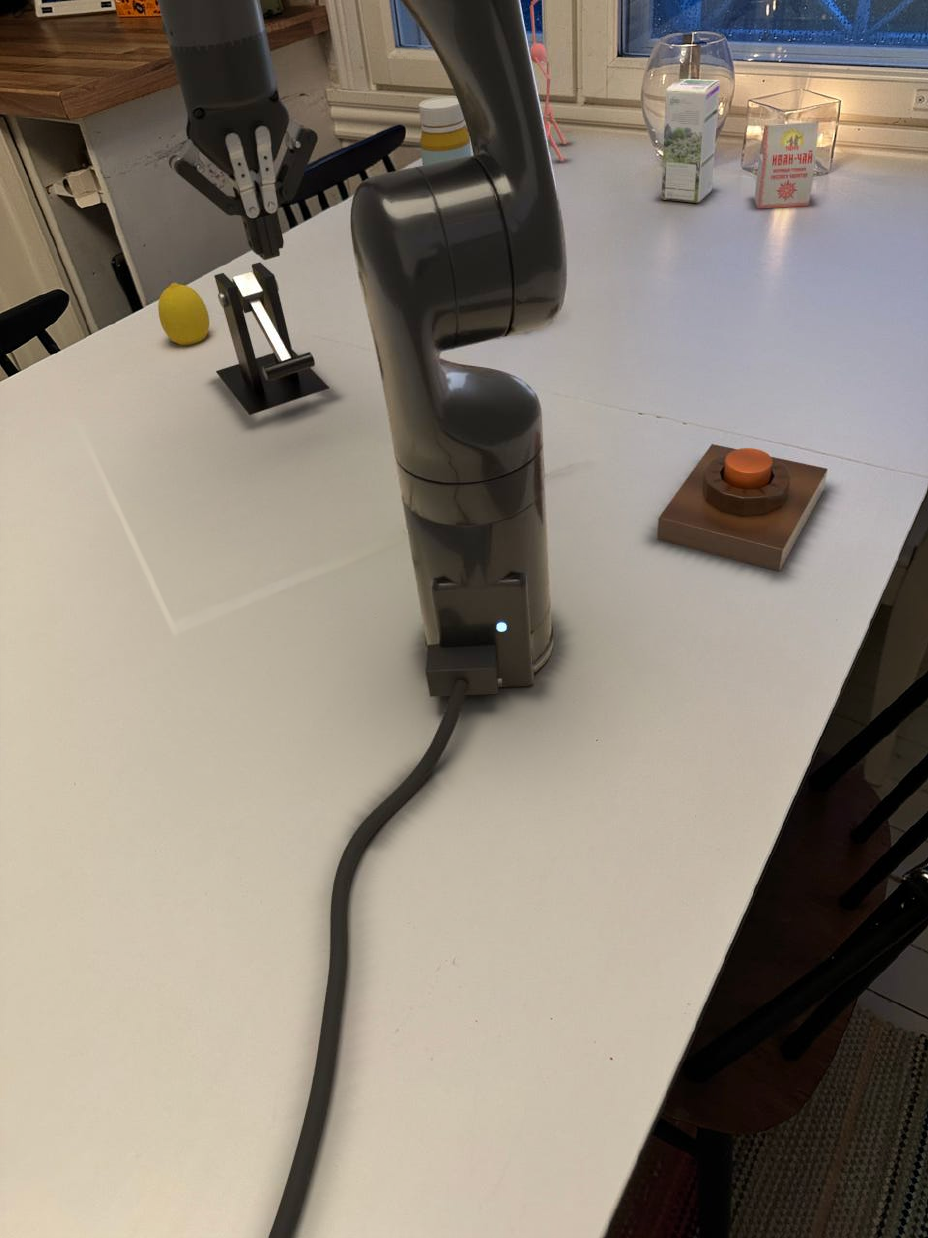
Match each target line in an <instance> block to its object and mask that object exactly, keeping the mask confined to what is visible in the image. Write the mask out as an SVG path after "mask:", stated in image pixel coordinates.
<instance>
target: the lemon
mask: <svg viewBox="0 0 928 1238" xmlns="http://www.w3.org/2000/svg"><path fill="white" fill-rule="evenodd" d="M157 303H158V304H157V305H158V308H157V309H158V317H159V321H160V325H161V328H162V329H163V331H164V332H165V334H166V335H167V337H168V338H169V339H170V340H171V341H172V342H174V343H176V344H178V345H180V346H191V345H196V344H198V343H200V342H202V341H204V340H205V338H206V337H207V335H208V333H209V331H210V330H209V329H210V316H209V312H208V309H207V307H206V304H205V302H204V300H203V298H202V297H201V296H200V294H199V293H198V292H197V291H196V290H195V289H193V288H192V287H191V286H189V285H185V284H179V283H177V282H172V283H171V284H170V285H169V286H168V287H167V288H165V289H164V290H163V291H162V292H161V295H160V296H159V299H158V302H157Z"/></svg>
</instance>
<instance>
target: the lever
mask: <svg viewBox="0 0 928 1238" xmlns="http://www.w3.org/2000/svg"><path fill="white" fill-rule="evenodd" d="M231 279H232V280H231V281H232V282H233V283H234V284H235V285H236V286H237V290H238V293H239V297H240V301H241V305H242V308H243V312H244V314H248V313H250V312H251V313H252V315H253V316H254V319H255V321H256V322H257V324H258V326H259V328H260V330H261V332H262V333H263V336H264V337H265V339H266V341H267V342H268V345H269V346H270V349H271V350H272V353H273V352H274V354H275V356H276V357H277V359H278V361H279V362H277V363H273V364H270V365H267V366H264V367H263V368H262V370H263V374H264V376H265V378H266V380H267V381H271V380H274V379H277V378H280V377H283V376H286V375H289V374H292V373H295V372H298V371H301V370H305V369H308V368H311V369H312V368H313V367H315V366H316V362H315V358H314V356H313V354H312V352H311V351H307V352H304V353H301V354H299V355H298V354H297V355H298V356H295V357H292V358H291V356H290V354H289V352H288V351H287V349H286V347H285V345H284V343H283V341H282V340H281V338H280V336H279V334H278V332H277V330H276V329H275V327H274V325H273V323H272V321H271V319H270V318H269V316H268V314H267V312H266V310H265V308H264V307H265V306H264V294H263V290H262V288H261V286H260V284H259V282H258V281H257V279H256V277H255V275H254V273H253V270H252V271H248V272H244V273H242V274H238V275H235V276H232V277H231Z"/></svg>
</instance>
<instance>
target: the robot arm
mask: <svg viewBox="0 0 928 1238" xmlns="http://www.w3.org/2000/svg"><path fill="white" fill-rule="evenodd" d="M399 2H400V3H401V4H402V5H403V7H404V8H405V9H406V11H407V12H408V14H410V17H412V19H413V21H415V23H416V24H417V25H418V27H419V29H420V30H421V32H422V33H423V35H424V37H425V38H426V40H427V41H428V43H429V44H430V46H431V48H432V49H433V51H434V52H435V54H436V56H437V58H438V60H439V62H440V63H441V65H442V67H443V69H444V71H445V73H446V75H447V78H448V80H449V82H450V84H451V86H452V89H453V91H454V94H455V97H457V99H458V102H459V105H460V107H461V110H462V113H463V116H464V119H465V127H466V129H467V131H468V134H469V140H470V146H471V151H472V153H473V154H472V155H471V156H470V157H464V158H459V159H454V160H448V161H443V162H438V163H433V164H428V165H423V164H422V165H419V166H413V167H409V168H404V169H400V170H393V171H390V172H384V173H381V174H377V175H373V176H371V177H368V178H366V179H365V180H363V181H361V182H360V184H359V185H358V186H357V187H356V189H355V192H354V194H353V196H352V201H351V207H350V218H349V219H350V220H349V221H350V234H351V243H352V253H353V256H354V261H355V262H354V263H355V266H356V271H357V276H358V281H359V286H360V290H361V294H362V297H363V302H364V306H365V311H366V314H367V315H366V316H367V318H368V323H369V327H370V332H371V335H372V340H373V344H374V345H373V346H374V349H375V354H376V358H377V363H378V368H379V374H380V379H381V384H382V390H383V395H384V396H383V397H384V402H385V407H386V412H387V418H388V422H389V423H388V425H389V428H390V429H389V430H390V435H391V440H392V441H391V442H392V448H393V455H394V459H395V465H396V471H397V477H398V482H399V489H400V495H401V502H402V507H403V512H404V520H405V525H406V530H407V531H406V532H407V536H408V543H409V548H410V554H411V555H410V556H411V560H412V565H413V572H414V578H415V584H416V589H417V595H418V600H419V606H420V607H419V608H420V613H421V617H422V623H423V629H424V635H425V636H424V637H425V638H424V639H425V640H424V642H425V643H424V644H425V649H426V661H425V676H426V682H427V687H428V694H429V697H430V698H435V697H448V700H447V704H446V706H445V710H444V713H443V715H442V718H441V721H440V722H439V725H438V727H437V729H436V731H435V734H434V736H433V738H432V741H431V742H430V743H429V746H428V748H427V750H426V751H425V753H424V755H423V756H422V757H421V759H420V761H419V762H418V763H417V765H416V766H415V768H414V769H413V770H412V771H411V773H410V774H409V775H408V776H407V778H405V780H404V781H402V783H401V784H400V785H399V786H398V787H397V788H396V789H395V790H394V791H393V792H391V794H389V795H388V796H387V797H386V798H385V799H384V800H383V801H382V802H381V803H380V804H379V805H378V806H376V808H374V810H373V811H371V812H370V814H369V815H367V816H366V818H365V819H364V820H363V821H362V822H361V824H360V825H359V826H358V827H357V829H356V830H355V831H354V833H353V834H352V836H351V838H350V839H349V841H348V842H347V844H346V846H345V849H344V850H343V852H342V855H341V857H340V860H339V862H338V865H337V869H336V871H335V876H334V880H333V885H332V892H331V897H330V898H331V899H330V916H329V917H330V919H329V920H330V921H329V922H330V923H329V929H330V930H329V932H330V933H329V964H328V966H329V967H328V974H327V983H326V989H325V994H324V1002H323V1010H322V1017H321V1023H320V1024H321V1025H320V1031H319V1038H318V1046H317V1051H316V1052H317V1053H316V1059H315V1065H314V1071H313V1077H312V1082H311V1087H310V1090H309V1091H310V1092H309V1096H308V1101H307V1105H306V1109H305V1113H304V1117H303V1122H302V1125H301V1130H300V1134H299V1137H298V1140H297V1144H296V1148H295V1152H294V1155H293V1159H292V1164H291V1165H290V1170H289V1173H288V1177H287V1180H286V1182H285V1183H286V1184H285V1186H284V1190H283V1193H282V1196H281V1199H280V1203H279V1206H278V1209H277V1212H276V1215H275V1217H274V1221H273V1223H272V1225H271V1228H270V1231H269V1234H268V1237H267V1238H291V1237H292V1234H293V1232H294V1228H295V1226H296V1223H297V1219H298V1216H299V1214H300V1210H301V1207H302V1203H303V1200H304V1197H305V1193H306V1190H307V1186H308V1183H309V1179H310V1175H311V1172H312V1168H313V1164H314V1160H315V1156H316V1153H317V1149H318V1146H319V1145H318V1144H319V1141H320V1136H321V1133H322V1130H323V1129H322V1128H323V1124H324V1120H325V1115H326V1111H327V1106H328V1102H329V1097H330V1092H331V1086H332V1080H333V1076H334V1075H333V1074H334V1068H335V1060H336V1055H337V1049H338V1038H339V1033H340V1024H341V1023H340V1022H341V1015H342V1008H343V998H344V991H345V983H346V976H347V964H348V901H349V900H348V899H349V898H348V897H349V892H350V885H351V880H352V877H353V872H354V870H355V868H356V865H357V863H358V860H359V858H360V856H361V854H362V852H363V850H364V848H365V847H366V845H367V843H368V842H369V841H370V839H371V838H372V837H373V835H374V834H375V833H376V832H377V831H378V829H379V828H380V827H381V826H382V825H383V824H384V823H385V822H386V821H387V820H388V819H389V818H390V817H391V816H392V815H393V814H394V813H395V812H396V811H398V809H399V808H401V806H403V805H404V804H405V803H406V802H407V801H408V800H409V799H410V798H411V797H412V795H414V793H415V792H416V791H417V790H418V789H419V788H420V787H421V786H422V785H423V783H424V782H425V781H426V779H427V778H428V776H429V775H430V774H431V772H432V771H433V770H434V768H435V766H436V765H437V764H438V762H439V760H440V759H441V757H442V755H443V754H444V751H445V750H446V748H447V745H448V744H449V742H450V739H451V737H452V735H453V732H454V730H455V727H456V725H457V722H458V720H459V716H460V714H461V711H462V707H463V704H464V700H465V698H466V696H474V695H477V696H478V695H497V694H498V692H499V688H507V687H508V688H509V687H529V686H532V685H533V684H534V676H535V673H536V672H538V671H539V670H540V669H541V668H542V667H543V666H544V665H545V664H546V662H547V661H548V659H550V656H551V654H552V651H553V648H554V626H553V623H552V609H551V608H552V607H551V590H550V586H551V585H550V570H549V569H550V568H549V565H550V563H549V546H548V544H549V543H548V521H547V502H546V501H547V499H546V497H547V496H546V472H545V471H546V469H545V449H544V428H543V427H544V426H543V425H544V424H543V411H542V406H541V403H540V399H539V397H538V394H537V393H536V392H535V390H534V389H533V388H532V387H531V386H530V385H529V384H528V383H527V382H526V381H524V380H523V379H521V378H519V377H518V376H515V375H513V374H511V373H508V372H506V371H503V370H498V369H495V368H491V367H483V366H477V365H469V364H463V363H457V362H453V361H450V360H446V359H443V358H441V353H443V352H446V351H451V350H456V349H459V348H464V347H469V346H472V345H477V344H481V343H486V342H490V341H494V340H498V339H499V340H500V339H502V338H505V337H508V336H510V337H511V336H515V335H519V334H523V333H527V332H530V331H535V330H537V329H541V328H543V327H546V326H548V325H549V324H551V323H553V321H554V320H555V319H557V317H558V315H559V314H560V312H561V310H562V308H563V306H564V303H565V298H566V292H567V291H566V290H567V284H568V283H567V281H568V276H567V275H568V273H567V272H568V261H567V247H566V235H565V230H564V220H563V215H562V209H561V204H560V203H561V202H560V198H559V192H558V187H557V181H556V175H555V170H554V166H553V160H552V155H551V153H550V152H551V150H550V146H549V141H548V140H547V136H546V131H545V126H544V121H543V119H544V116H543V112H542V111H543V110H542V105H541V101H540V96H539V91H538V86H537V81H536V76H535V71H534V65H533V61H532V60H531V56H530V51H529V50H530V46H529V42H528V37H527V36H528V35H527V31H526V26H525V21H524V15H523V9H522V3H521V0H399ZM157 3H158V4H157V5H158V8H159V12H160V16H161V25H162V29H163V33H164V36H165V37H166V39H167V42H168V46H169V50H170V53H171V57H172V61H173V65H174V69H175V72H176V75H177V79H178V83H179V87H180V92H181V93H182V94H181V95H182V97H183V98H182V99H183V101H184V106H185V110H186V114H187V122H186V126H185V132H186V137H187V139H188V140H187V141H186V142H185V144H184V145H183V147H182V149H181V150H180V151H179V153H178V154H173V155H171V156H170V157H169V159H168V165H169V167H170V169H172V171H173V172H175V173H176V174H178V175H179V176H180V177H181V178H182V179H183V180H185V182H187V183H188V184H189V185H191V186H192V187H193V188H194V189H196V190H197V192H199V193H200V194H201V195H203V196H204V197H205V198H206V199H208V200H209V201H210V202H211V203H212V204H214V205H215V206H216V207H217V208H218V209H220V210H221V211H222V212H223V213H225V214H226V215H228V216H229V217H231V216H240V217H241V219H242V225H243V228H244V232H245V236H246V239H247V244H248V247H249V249H251V252H253V253H254V254H255V255H257V256H259V257H260V258H261V259H262V260H263V261H266V260H271V259H274V258H278V257H280V256H281V251H280V250H281V249H283V248H284V243H285V241H284V237H283V236H284V235H283V232H282V231H283V230H282V228H281V223H280V219H279V214H278V213H279V212H278V211H279V207H281V205H283V204H284V203H285V202H286V201H288V202H289V201H292V200H294V198H295V197H296V194H297V192H298V190H299V187H300V185H301V182H302V181H303V177H304V175H305V172H306V170H307V168H308V165H309V163H310V160H311V157H312V155H313V153H314V150H315V148H316V146H317V143H318V139H319V137H318V133H317V132H316V131H315V130H313V129H311V128H310V127H309V126H306V125H304V124H303V125H302V124H299V123H298V122H296V121H294V120H293V119H291V118H290V114H289V110H288V109H287V107H286V106H285V104H284V103H283V101H282V100H281V97H280V94H279V88H278V83H277V78H276V73H275V68H274V63H273V59H272V53H271V49H270V44H269V38H268V35H267V29H266V24H265V20H264V15H263V11H262V6H261V1H260V0H157ZM283 141H284V145H285V147H287V148H286V150H285V153H284V155H283V158H282V161H281V163H280V166H279V168H278V171H277V173H275V165H274V163H275V161H276V160H277V158H278V155H279V152H280V149H281V146H282V143H283ZM200 153H201V154H202V155H203V156H204V157H206V159H208V161H210V162H211V163H212V164H213V165H214V166H215V167H216V168H217V169H218V170H220V171H221V172H223V173H224V174H225V176H226V180H227V182H228V184H229V186H230V189H231V191H232V194H233V195H227V193H225V192H224V191H222V190H221V189H220V188H219V187H218V186H217V185H215V184H214V183H213V182H212V181H211V180H210V179H208V178H207V177H206V176H205V175H204V174H203V173H204V172H205V168H206V167H205V163H204V162H203V161H202V160H201V157H200Z"/></svg>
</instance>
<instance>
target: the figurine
mask: <svg viewBox="0 0 928 1238" xmlns="http://www.w3.org/2000/svg"><path fill="white" fill-rule="evenodd" d="M538 1H539V0H532V1H531V2H530V5H529V13H530V15H529V16H530V24H531V33H532V34H531V35H532V45H531V47H529V51H530V56H531V61H532V63H535V64H537V65H538V67H539V68H540V70H541V72H542V73H543V75H544V76H545V78H546V96H545V105H544V114H543V115H544V116H543V121H544V126H545V131H546V136H547V141H548V140H549V142H550V144H551V146H552V148H553V149H554V152H555V153H556V156H557V157H558V160H559V162H560V163H562V162H563V161H564V157H563V156H562V154H561V151H560V150H559V148H558V146H557V144H556V142H555V140H554V137H553V136H552V134H551V132H550V131H551V123H552V125H553V127H554V129H555V132H556V133H557V135H558V137H559V139H560V141H561V143H562V145H563V146H565V145H566V144H567V141H566V139H565V138H564V136H563V134H562V133H573V131H571V130H570V131H569V130H567V131H563V130H562V131H561V130H560V127H559V126H558V124H557V121H556V120H555V118H554V116H553V113H552V109H553V108H554V106H553V105H551V106H550V107H549V101H550V100H549V99H550V98H549V97H550V90H551V78H550V61H548V60H547V59H546V57H547V49H546V47H545V45H544V44H543V43H541V42H536V41H537V40H536V25H535V11H534V5H536V4H537V2H538ZM542 62H544V63H545V64H546V70H545V69H544V67H543V65H542V64H541V63H542ZM548 117H549V119H550V121H551V122H550V121H549V120H547V118H548Z"/></svg>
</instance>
